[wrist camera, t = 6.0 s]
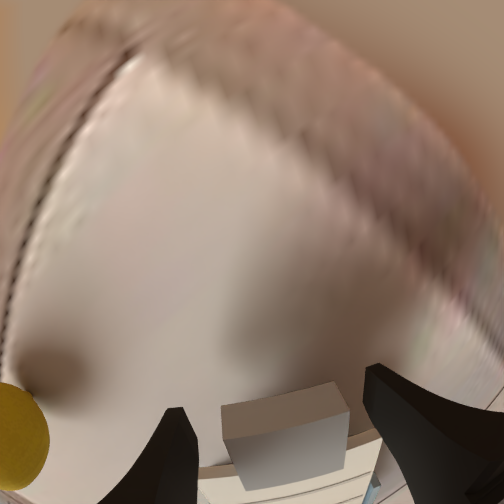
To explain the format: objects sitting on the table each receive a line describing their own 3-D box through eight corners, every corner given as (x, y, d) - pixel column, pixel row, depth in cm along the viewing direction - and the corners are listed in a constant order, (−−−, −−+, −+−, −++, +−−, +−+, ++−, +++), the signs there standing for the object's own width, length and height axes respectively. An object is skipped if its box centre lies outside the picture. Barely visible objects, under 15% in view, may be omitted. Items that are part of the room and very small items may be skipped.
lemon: (40, 359, 12) (-29, 461, 4) (79, 428, 13) (45, 526, 6) (-15, 355, 11) (-77, 429, 4) (22, 419, 13) (-17, 496, 5)
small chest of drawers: (356, 504, 13) (362, 519, 12) (238, 530, 13) (240, 547, 11) (387, 363, 9) (409, 388, 8) (160, 412, 9) (155, 445, 7)
